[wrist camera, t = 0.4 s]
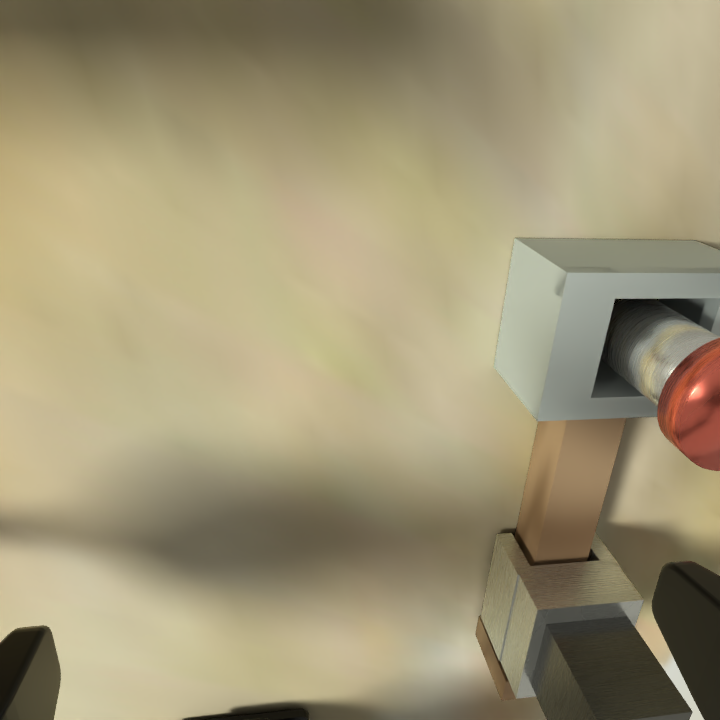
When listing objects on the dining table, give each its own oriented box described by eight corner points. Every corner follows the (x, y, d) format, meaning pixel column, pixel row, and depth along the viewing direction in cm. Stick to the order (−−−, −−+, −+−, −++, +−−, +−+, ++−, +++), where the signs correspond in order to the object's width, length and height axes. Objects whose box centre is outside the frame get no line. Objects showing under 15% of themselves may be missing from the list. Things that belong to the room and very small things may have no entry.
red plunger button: (664, 378, 22) (782, 467, 17) (570, 380, 21) (664, 474, 16) (693, 280, 20) (832, 348, 15) (592, 281, 20) (703, 350, 15)
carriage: (569, 608, 30) (673, 786, 22) (480, 616, 29) (558, 803, 22) (591, 527, 28) (714, 693, 20) (496, 533, 27) (588, 709, 20)
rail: (559, 625, 31) (594, 689, 27) (475, 634, 30) (501, 700, 27) (629, 364, 24) (685, 407, 21) (525, 366, 24) (567, 411, 21)
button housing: (659, 363, 25) (728, 413, 21) (493, 367, 23) (537, 421, 20) (695, 240, 22) (778, 273, 19) (514, 237, 21) (567, 272, 18)
